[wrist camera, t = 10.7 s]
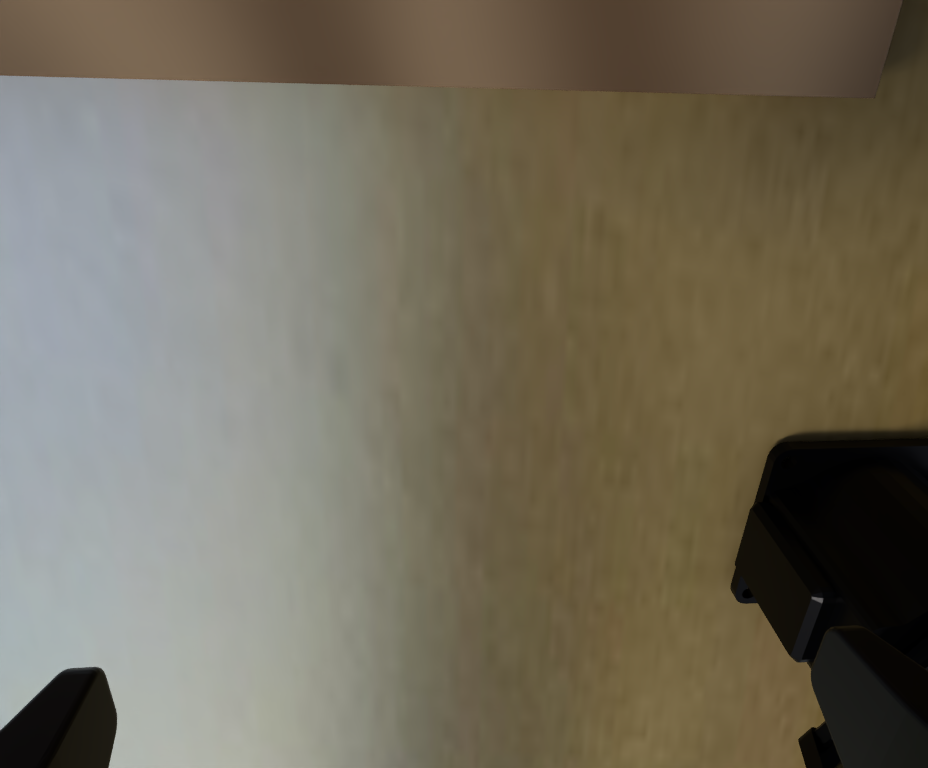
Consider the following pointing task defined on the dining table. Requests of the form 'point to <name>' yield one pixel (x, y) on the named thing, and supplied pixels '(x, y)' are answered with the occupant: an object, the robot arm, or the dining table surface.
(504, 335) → the dining table surface
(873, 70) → the keeper board
